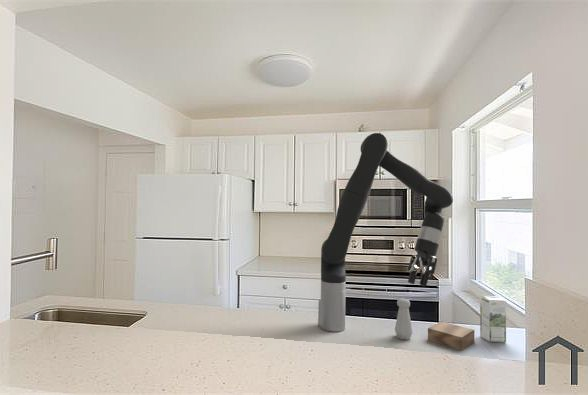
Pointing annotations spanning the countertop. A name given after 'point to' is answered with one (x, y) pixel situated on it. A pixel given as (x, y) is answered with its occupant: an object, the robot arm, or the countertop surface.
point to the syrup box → (493, 318)
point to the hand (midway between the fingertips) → (416, 284)
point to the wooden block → (451, 335)
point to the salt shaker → (403, 320)
